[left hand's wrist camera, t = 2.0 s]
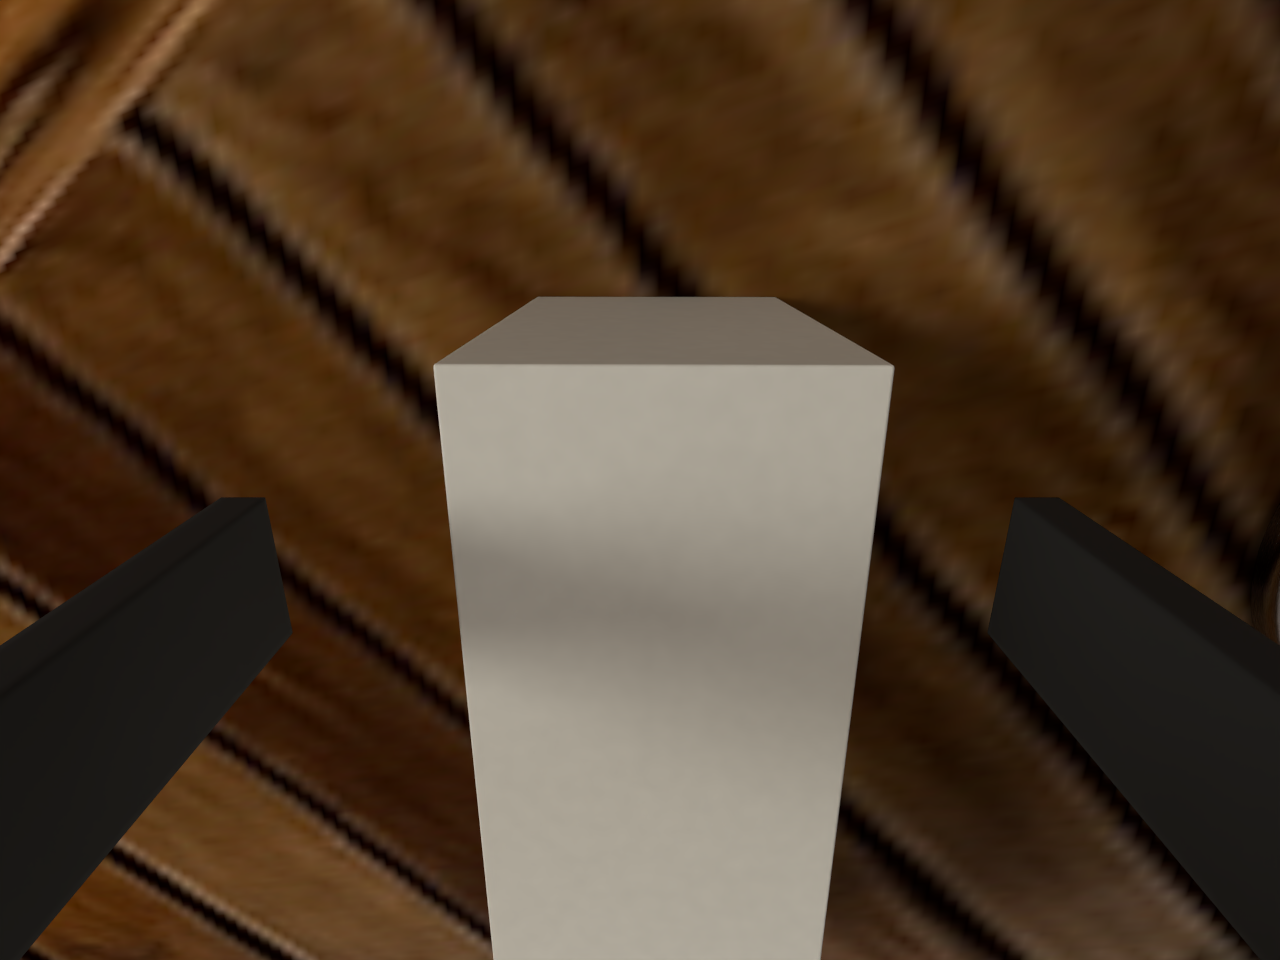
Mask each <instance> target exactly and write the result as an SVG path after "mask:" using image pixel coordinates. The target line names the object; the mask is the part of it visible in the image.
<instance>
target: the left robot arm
mask: <svg viewBox="0 0 1280 960" xmlns="http://www.w3.org/2000/svg"><path fill="white" fill-rule="evenodd" d="M1251 613H1252V622H1253V627H1254V628H1253V627H1251V626H1250V625H1248V624H1247V623H1245V622H1244V621H1242V620H1241V619H1239V618H1238V617H1236V616H1235V615H1233V614H1232V613H1230V612H1229V611H1227V610H1226V609H1224V608H1223V607H1221V606H1220V605H1218V604H1217V603H1215V602H1214V601H1212V600H1211V599H1209V598H1208V597H1206V596H1205V595H1203V594H1202V593H1200V592H1199V591H1197V590H1196V589H1195V588H1193V587H1192V586H1190V585H1189V584H1187V583H1186V582H1184V581H1183V580H1181V579H1180V578H1178V577H1177V576H1175V575H1174V574H1172V573H1171V572H1169V571H1168V570H1166V569H1165V568H1163V567H1162V566H1160V565H1159V564H1157V563H1156V562H1154V561H1153V560H1151V559H1150V558H1148V557H1147V556H1145V555H1144V554H1142V553H1141V552H1139V551H1138V550H1136V549H1135V548H1133V547H1132V546H1130V545H1129V544H1127V543H1126V542H1124V541H1123V540H1121V539H1120V538H1118V537H1117V536H1115V535H1114V534H1112V533H1111V532H1109V531H1108V530H1106V529H1105V528H1103V527H1102V526H1100V525H1099V524H1097V523H1096V522H1094V521H1093V520H1091V519H1090V518H1088V517H1087V516H1086V515H1084V514H1083V513H1081V512H1080V511H1078V510H1077V509H1075V508H1074V507H1072V506H1071V505H1069V504H1068V503H1066V502H1065V501H1063V500H1062V499H1060V498H1015V500H1014V505H1013V510H1012V515H1011V519H1010V524H1009V529H1008V534H1007V539H1006V544H1005V549H1004V554H1003V559H1002V564H1001V569H1000V574H999V579H998V584H997V588H996V593H995V598H994V603H993V608H992V613H991V618H990V623H989V628H988V634H989V635H990V637H991V638H992V639H993V640H994V641H995V643H996V644H997V645H998V646H999V647H1000V649H1001V650H1002V651H1003V652H1004V653H1005V654H1006V656H1007V657H1008V658H1009V659H1010V660H1011V662H1012V663H1013V664H1014V665H1015V666H1016V668H1017V669H1018V670H1019V671H1020V672H1021V674H1022V675H1023V676H1024V677H1025V678H1026V680H1027V681H1028V682H1029V683H1030V684H1031V686H1032V687H1033V688H1034V689H1035V690H1036V692H1037V693H1038V694H1039V695H1040V696H1041V698H1042V699H1043V700H1044V701H1045V702H1046V704H1047V705H1048V706H1049V707H1050V708H1051V710H1052V711H1053V712H1054V713H1055V714H1056V716H1057V717H1058V718H1059V719H1060V720H1061V722H1062V723H1063V724H1064V725H1065V726H1066V727H1067V729H1068V730H1069V731H1070V732H1071V733H1072V735H1073V736H1074V737H1075V738H1076V739H1077V741H1078V742H1079V743H1080V744H1081V745H1082V747H1083V748H1084V749H1085V750H1086V751H1087V753H1088V754H1089V755H1090V756H1091V757H1092V759H1093V760H1094V761H1095V762H1096V763H1097V765H1098V766H1099V767H1100V768H1101V769H1102V771H1103V772H1104V773H1105V774H1106V775H1107V777H1108V778H1109V779H1110V780H1111V781H1112V783H1113V784H1114V785H1115V786H1116V787H1117V789H1118V790H1119V791H1120V792H1121V793H1122V794H1123V796H1124V797H1125V798H1126V799H1127V800H1128V802H1129V803H1130V804H1131V805H1132V806H1133V808H1134V809H1135V810H1136V811H1137V812H1138V814H1139V815H1140V816H1141V817H1142V818H1143V820H1144V821H1145V822H1146V823H1147V824H1148V826H1149V827H1150V828H1151V829H1152V830H1153V832H1154V833H1155V834H1156V835H1157V836H1158V838H1159V839H1160V840H1161V841H1162V842H1163V844H1164V845H1165V846H1166V847H1167V848H1168V850H1169V851H1170V852H1171V853H1172V854H1173V856H1174V857H1175V858H1176V859H1177V860H1178V862H1179V863H1180V864H1181V865H1182V866H1183V867H1184V869H1185V870H1186V871H1187V872H1188V873H1189V875H1190V876H1191V877H1192V878H1193V879H1194V881H1195V882H1196V883H1197V884H1198V885H1199V887H1200V888H1201V889H1202V890H1203V891H1204V893H1205V894H1206V895H1207V896H1208V897H1209V899H1210V900H1211V901H1212V902H1213V903H1214V905H1215V906H1216V907H1217V908H1218V909H1219V911H1220V912H1221V913H1222V914H1223V915H1224V917H1225V918H1226V919H1227V920H1228V921H1229V923H1230V924H1231V925H1232V926H1233V927H1234V929H1235V930H1236V931H1237V932H1238V933H1239V934H1240V936H1241V937H1242V938H1243V939H1244V940H1245V942H1246V943H1247V944H1248V945H1249V946H1250V948H1251V949H1252V950H1253V951H1254V952H1255V954H1256V955H1257V956H1258V957H1259V958H1260V960H1280V504H1279V506H1278V507H1277V509H1276V511H1275V513H1274V515H1273V517H1272V519H1271V521H1270V523H1269V525H1268V528H1267V530H1266V533H1265V535H1264V538H1263V541H1262V543H1261V546H1260V549H1259V553H1258V556H1257V560H1256V563H1255V568H1254V574H1253V579H1252V588H1251ZM291 634H292V628H291V623H290V618H289V613H288V608H287V603H286V598H285V593H284V589H283V584H282V579H281V574H280V569H279V564H278V559H277V554H276V549H275V544H274V539H273V534H272V529H271V524H270V519H269V515H268V510H267V505H266V500H265V498H220V499H218V500H217V501H215V502H214V503H212V504H211V505H209V506H208V507H206V508H205V509H203V510H202V511H200V512H199V513H197V514H196V515H194V516H193V517H192V518H190V519H189V520H187V521H186V522H184V523H183V524H181V525H180V526H178V527H177V528H175V529H174V530H172V531H171V532H169V533H168V534H166V535H165V536H163V537H162V538H160V539H159V540H157V541H156V542H154V543H153V544H151V545H150V546H148V547H147V548H145V549H144V550H142V551H141V552H139V553H138V554H136V555H135V556H133V557H132V558H130V559H129V560H127V561H126V562H124V563H123V564H121V565H120V566H118V567H117V568H115V569H114V570H112V571H111V572H109V573H108V574H106V575H105V576H103V577H102V578H100V579H99V580H97V581H96V582H94V583H93V584H91V585H90V586H88V587H87V588H85V589H84V590H83V591H81V592H80V593H78V594H77V595H75V596H74V597H72V598H71V599H69V600H68V601H66V602H65V603H63V604H62V605H60V606H59V607H57V608H56V609H54V610H53V611H51V612H50V613H48V614H47V615H45V616H44V617H42V618H41V619H39V620H38V621H36V622H35V623H33V624H32V625H30V626H29V627H27V628H26V629H24V630H23V631H21V632H20V633H18V634H17V635H15V636H14V637H12V638H11V639H9V640H8V641H6V642H5V643H3V644H2V645H0V960H20V958H21V957H22V956H23V955H24V954H25V952H26V951H27V950H28V949H29V948H30V946H31V945H32V944H33V943H34V942H35V940H36V939H37V938H38V937H39V936H40V934H41V933H42V932H43V931H44V930H45V929H46V927H47V926H48V925H49V924H50V923H51V921H52V920H53V919H54V918H55V917H56V915H57V914H58V913H59V912H60V911H61V909H62V908H63V907H64V906H65V905H66V903H67V902H68V901H69V900H70V899H71V897H72V896H73V895H74V894H75V893H76V891H77V890H78V889H79V888H80V887H81V885H82V884H83V883H84V882H85V881H86V879H87V878H88V877H89V876H90V875H91V873H92V872H93V871H94V870H95V869H96V867H97V866H98V865H99V864H100V863H101V862H102V860H103V859H104V858H105V857H106V856H107V854H108V853H109V852H110V851H111V850H112V848H113V847H114V846H115V845H116V844H117V842H118V841H119V840H120V839H121V838H122V836H123V835H124V834H125V833H126V832H127V830H128V829H129V828H130V827H131V826H132V824H133V823H134V822H135V821H136V820H137V818H138V817H139V816H140V815H141V814H142V812H143V811H144V810H145V809H146V808H147V806H148V805H149V804H150V803H151V802H152V800H153V799H154V798H155V797H156V796H157V794H158V793H159V792H160V791H161V790H162V789H163V787H164V786H165V785H166V784H167V783H168V781H169V780H170V779H171V778H172V777H173V775H174V774H175V773H176V772H177V771H178V769H179V768H180V767H181V766H182V765H183V763H184V762H185V761H186V760H187V759H188V757H189V756H190V755H191V754H192V753H193V751H194V750H195V749H196V748H197V747H198V745H199V744H200V743H201V742H202V741H203V739H204V738H205V737H206V736H207V735H208V733H209V732H210V731H211V730H212V729H213V727H214V726H215V725H216V724H217V723H218V722H219V720H220V719H221V718H222V717H223V716H224V714H225V713H226V712H227V711H228V710H229V708H230V707H231V706H232V705H233V704H234V702H235V701H236V700H237V699H238V698H239V696H240V695H241V694H242V693H243V692H244V690H245V689H246V688H247V687H248V686H249V684H250V683H251V682H252V681H253V680H254V678H255V677H256V676H257V675H258V674H259V672H260V671H261V670H262V669H263V668H264V666H265V665H266V664H267V663H268V662H269V660H270V659H271V658H272V657H273V656H274V654H275V653H276V652H277V651H278V650H279V649H280V647H281V646H282V645H283V644H284V643H285V641H286V640H287V639H288V638H289V637H290V635H291Z"/></svg>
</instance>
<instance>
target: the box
mask: <svg viewBox="0 0 1280 960" xmlns="http://www.w3.org/2000/svg"><path fill="white" fill-rule="evenodd" d="M893 376H894V366H893V365H892V364H890V363H888V362H886V361H885V360H883V359H881V358H880V357H878V356H876V355H874V354H873V353H871V352H869V351H867V350H866V349H864V348H862V347H861V346H859V345H857V344H855V343H854V342H852V341H850V340H848V339H847V338H845V337H843V336H841V335H840V334H838V333H836V332H835V331H833V330H831V329H829V328H828V327H826V326H824V325H822V324H821V323H819V322H817V321H816V320H814V319H812V318H810V317H809V316H807V315H805V314H803V313H802V312H800V311H798V310H797V309H795V308H793V307H791V306H790V305H788V304H786V303H784V302H783V301H781V300H779V299H777V298H776V297H537V298H535V299H534V300H532V301H531V302H529V303H528V304H526V305H525V306H523V307H522V308H520V309H519V310H517V311H516V312H514V313H513V314H511V315H509V316H508V317H506V318H505V319H503V320H502V321H500V322H499V323H497V324H496V325H494V326H493V327H491V328H490V329H488V330H487V331H485V332H483V333H482V334H480V335H479V336H477V337H476V338H474V339H473V340H471V341H470V342H468V343H467V344H465V345H464V346H462V347H460V348H459V349H457V350H456V351H454V352H453V353H451V354H450V355H448V356H447V357H445V358H444V359H442V360H441V361H439V362H438V363H436V364H434V377H435V387H436V397H437V407H438V416H439V426H440V436H441V446H442V456H443V466H444V475H445V485H446V495H447V505H448V515H449V525H450V534H451V544H452V554H453V564H454V574H455V584H456V594H457V603H458V613H459V623H460V633H461V643H462V653H463V662H464V672H465V682H466V692H467V702H468V712H469V722H470V731H471V741H472V751H473V761H474V771H475V781H476V790H477V800H478V810H479V820H480V830H481V840H482V849H483V859H484V869H485V879H486V889H487V899H488V909H489V918H490V928H491V938H492V948H493V958H494V960H820V958H821V950H822V942H823V934H824V926H825V918H826V910H827V902H828V894H829V886H830V878H831V870H832V862H833V854H834V847H835V839H836V831H837V823H838V815H839V807H840V799H841V791H842V783H843V775H844V767H845V759H846V751H847V743H848V735H849V727H850V719H851V711H852V703H853V695H854V687H855V679H856V671H857V663H858V655H859V647H860V639H861V631H862V623H863V615H864V607H865V599H866V591H867V583H868V575H869V567H870V559H871V551H872V543H873V535H874V527H875V519H876V511H877V503H878V495H879V488H880V480H881V472H882V464H883V456H884V448H885V440H886V432H887V424H888V416H889V408H890V400H891V392H892V384H893Z"/></svg>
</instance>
